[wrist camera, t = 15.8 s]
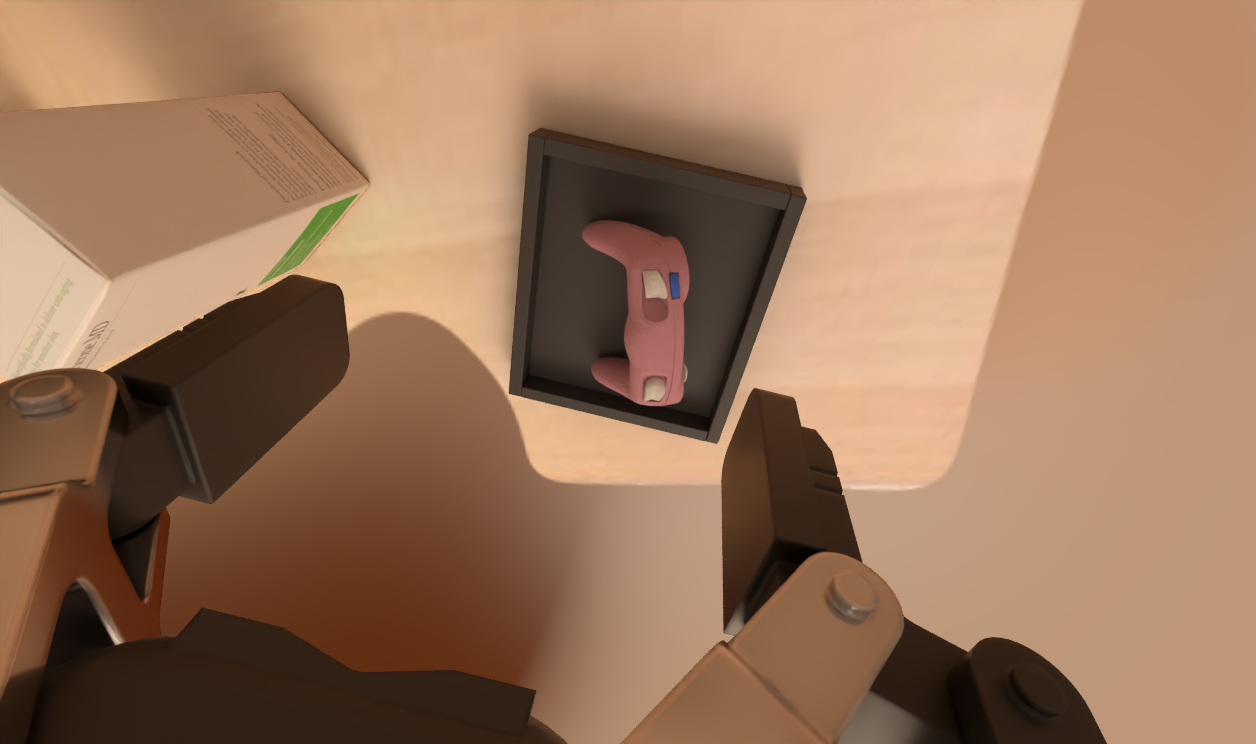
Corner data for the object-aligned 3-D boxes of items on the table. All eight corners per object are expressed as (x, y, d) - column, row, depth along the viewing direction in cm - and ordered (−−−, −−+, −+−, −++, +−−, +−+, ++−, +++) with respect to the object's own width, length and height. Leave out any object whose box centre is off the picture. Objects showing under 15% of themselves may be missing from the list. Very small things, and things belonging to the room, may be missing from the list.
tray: (518, 377, 36) (508, 394, 34) (540, 127, 27) (528, 133, 26) (717, 425, 36) (717, 444, 34) (802, 187, 27) (807, 197, 25)
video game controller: (656, 360, 35) (702, 422, 29) (587, 373, 34) (621, 441, 28) (657, 205, 30) (713, 244, 24) (576, 215, 29) (615, 257, 23)
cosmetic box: (303, 266, 34) (40, 412, 21) (209, 181, 32) (-151, 283, 19) (376, 180, 30) (113, 290, 17) (276, 76, 28) (-112, 113, 15)
